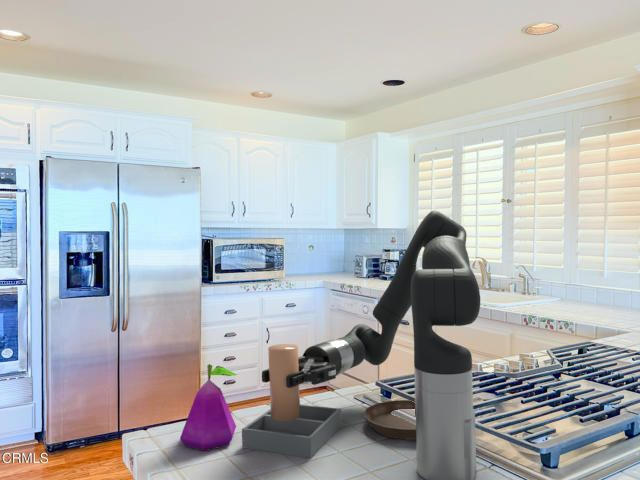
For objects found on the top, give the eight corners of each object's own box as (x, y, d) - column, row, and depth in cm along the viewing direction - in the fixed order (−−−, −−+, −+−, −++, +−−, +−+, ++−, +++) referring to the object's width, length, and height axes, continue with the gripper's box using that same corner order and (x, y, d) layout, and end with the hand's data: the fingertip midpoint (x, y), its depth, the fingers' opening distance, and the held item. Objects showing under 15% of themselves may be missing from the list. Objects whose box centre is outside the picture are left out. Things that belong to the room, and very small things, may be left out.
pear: (224, 454, 92) (222, 372, 91) (169, 451, 94) (166, 370, 94) (245, 431, 103) (243, 357, 102) (195, 428, 105) (193, 356, 105)
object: (362, 412, 112) (362, 399, 112) (442, 411, 111) (442, 398, 111) (366, 445, 94) (366, 429, 94) (462, 444, 94) (461, 428, 94)
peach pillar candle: (304, 411, 97) (302, 345, 97) (292, 422, 92) (290, 351, 92) (279, 408, 100) (276, 343, 99) (265, 419, 94) (263, 350, 94)
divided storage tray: (341, 425, 104) (340, 408, 104) (311, 457, 89) (310, 438, 89) (280, 418, 109) (279, 402, 109) (242, 447, 94) (241, 429, 94)
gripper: (301, 338, 111) (247, 354, 98) (356, 345, 103) (304, 364, 89) (302, 372, 112) (248, 393, 98) (357, 382, 103) (306, 406, 89)
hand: (275, 379), depth 94 cm, fingers closed on peach pillar candle, 5 cm apart
